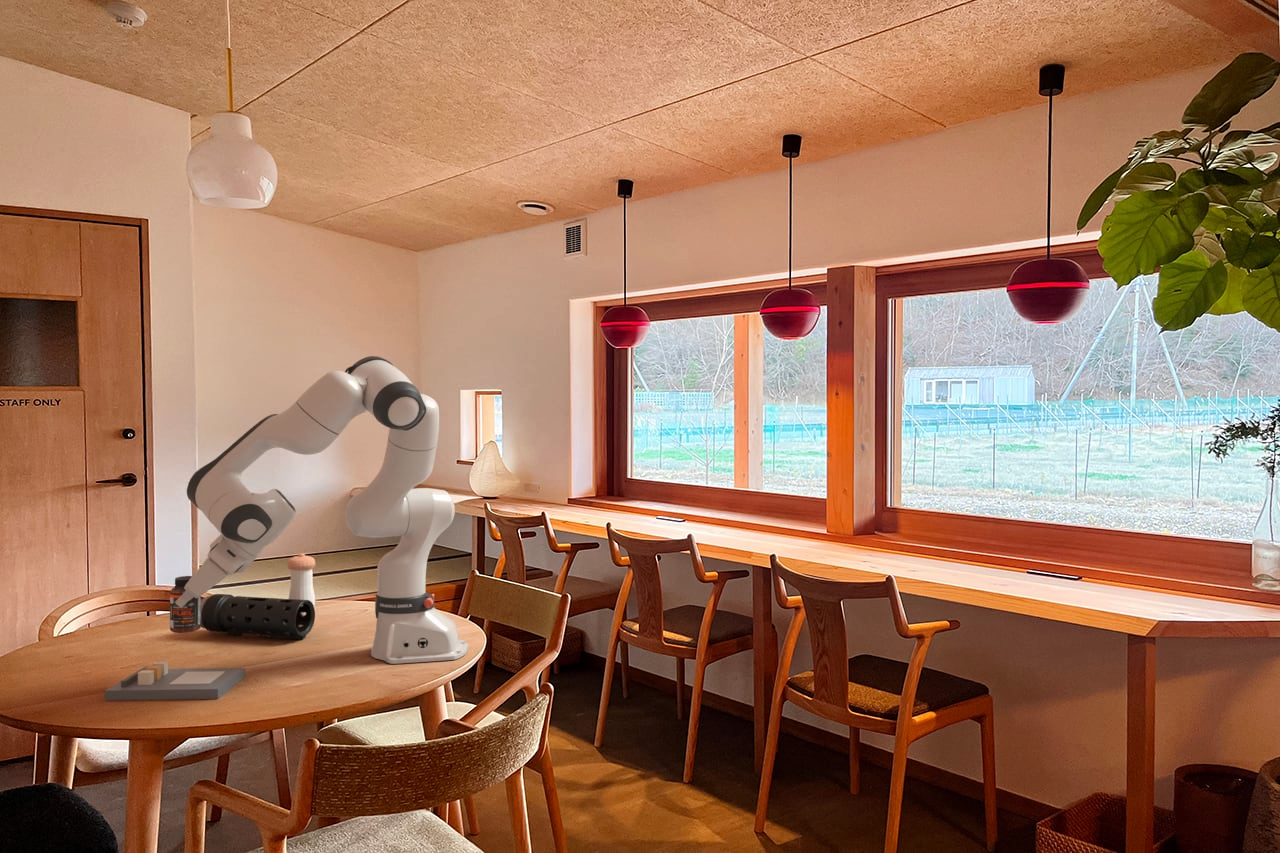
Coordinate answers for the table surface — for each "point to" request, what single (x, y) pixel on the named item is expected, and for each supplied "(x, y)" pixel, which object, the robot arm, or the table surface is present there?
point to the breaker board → (175, 683)
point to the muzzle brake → (257, 616)
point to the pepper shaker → (302, 579)
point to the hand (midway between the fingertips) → (182, 600)
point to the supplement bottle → (184, 609)
